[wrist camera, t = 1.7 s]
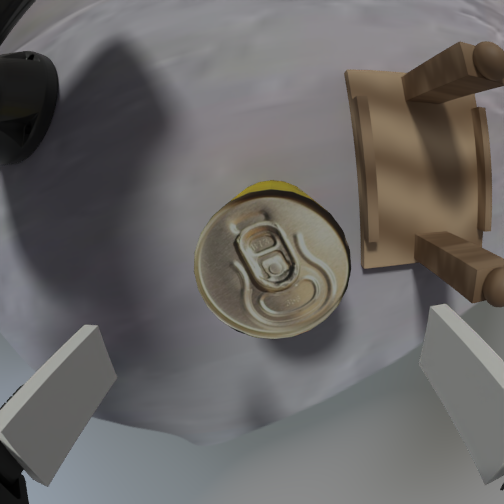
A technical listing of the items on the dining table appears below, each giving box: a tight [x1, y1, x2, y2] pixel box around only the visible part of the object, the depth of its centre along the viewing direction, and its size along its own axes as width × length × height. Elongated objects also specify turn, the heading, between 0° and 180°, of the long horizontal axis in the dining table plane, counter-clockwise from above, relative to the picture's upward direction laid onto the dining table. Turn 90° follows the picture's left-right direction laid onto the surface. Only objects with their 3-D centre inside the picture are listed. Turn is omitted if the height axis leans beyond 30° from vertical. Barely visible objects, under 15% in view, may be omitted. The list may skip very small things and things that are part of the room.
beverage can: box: [194, 180, 351, 339], centre depth 23 cm, size 9×9×12 cm
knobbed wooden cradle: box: [344, 41, 504, 307], centre depth 19 cm, size 19×15×14 cm
